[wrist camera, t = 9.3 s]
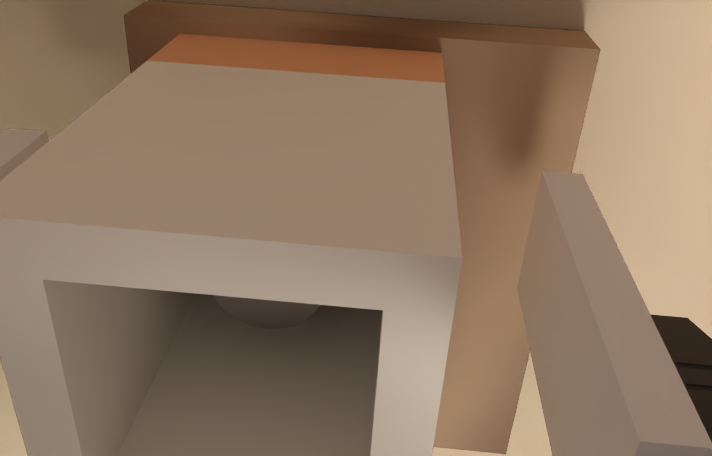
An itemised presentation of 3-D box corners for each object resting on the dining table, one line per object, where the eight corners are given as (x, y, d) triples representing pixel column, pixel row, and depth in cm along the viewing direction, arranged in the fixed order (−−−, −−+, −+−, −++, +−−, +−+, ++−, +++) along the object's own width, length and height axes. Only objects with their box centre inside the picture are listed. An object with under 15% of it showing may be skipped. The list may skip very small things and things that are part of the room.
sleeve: (180, 33, 14) (-41, 214, 8) (442, 52, 14) (462, 257, 7) (198, 254, 17) (49, 532, 10) (416, 273, 17) (414, 572, 10)
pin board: (187, 385, 22) (106, 577, 16) (148, 0, 16) (-5, 91, 10) (500, 416, 21) (529, 624, 16) (585, 31, 15) (681, 145, 10)
